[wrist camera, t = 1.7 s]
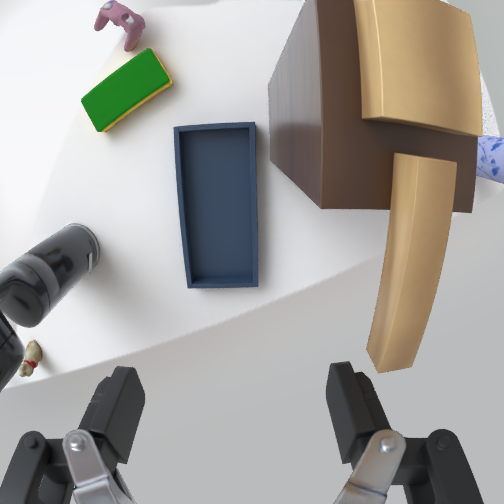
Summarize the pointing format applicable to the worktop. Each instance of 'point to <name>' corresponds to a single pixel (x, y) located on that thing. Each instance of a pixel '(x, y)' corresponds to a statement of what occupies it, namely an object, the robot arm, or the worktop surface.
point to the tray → (218, 203)
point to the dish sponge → (126, 90)
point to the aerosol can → (490, 158)
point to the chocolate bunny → (30, 359)
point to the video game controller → (121, 22)
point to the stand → (345, 120)
